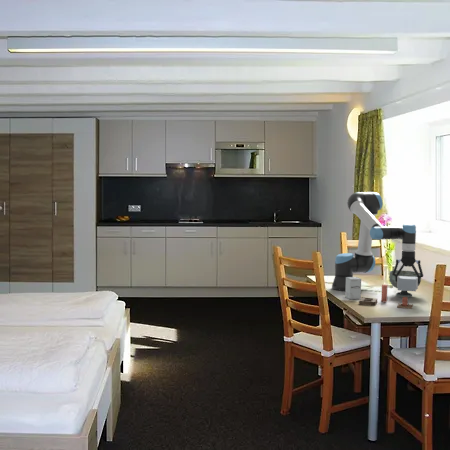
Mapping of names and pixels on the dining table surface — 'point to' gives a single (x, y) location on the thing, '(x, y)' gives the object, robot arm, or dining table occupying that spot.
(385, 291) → the peg
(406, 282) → the cover
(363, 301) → the board
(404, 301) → the board
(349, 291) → the supplement box
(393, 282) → the bowl
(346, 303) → the dining table surface
